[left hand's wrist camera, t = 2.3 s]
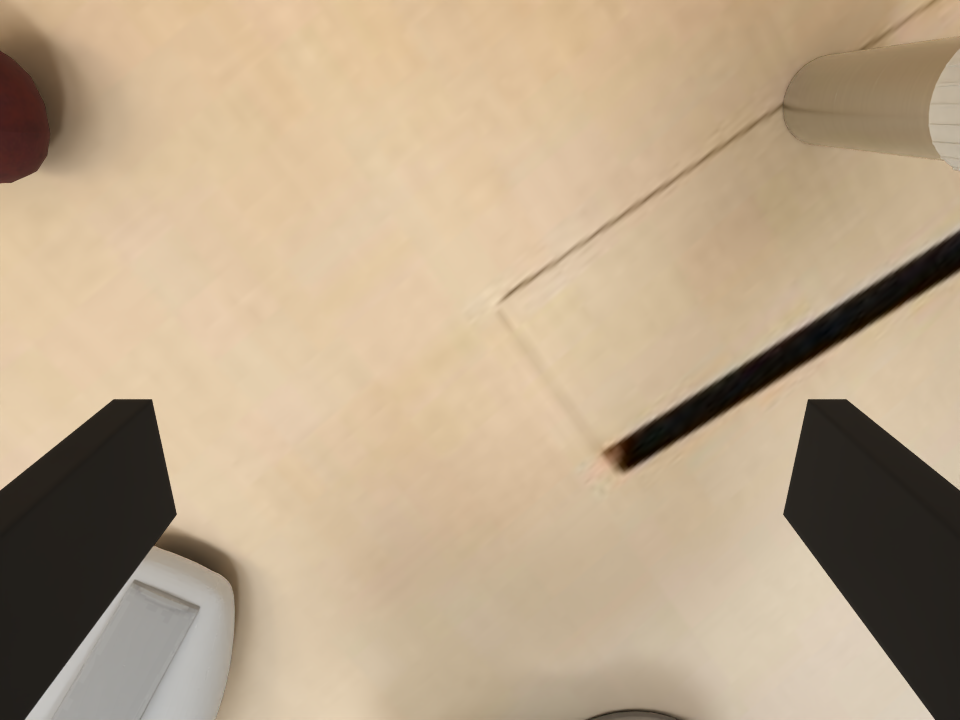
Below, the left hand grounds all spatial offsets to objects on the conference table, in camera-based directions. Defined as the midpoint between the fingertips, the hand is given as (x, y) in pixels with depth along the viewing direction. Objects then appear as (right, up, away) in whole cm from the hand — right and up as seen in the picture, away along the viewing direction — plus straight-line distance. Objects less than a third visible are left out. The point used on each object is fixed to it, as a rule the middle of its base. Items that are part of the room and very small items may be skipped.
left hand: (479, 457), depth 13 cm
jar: (+20, +17, +23) cm, 35 cm away
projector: (-28, -21, +39) cm, 52 cm away
